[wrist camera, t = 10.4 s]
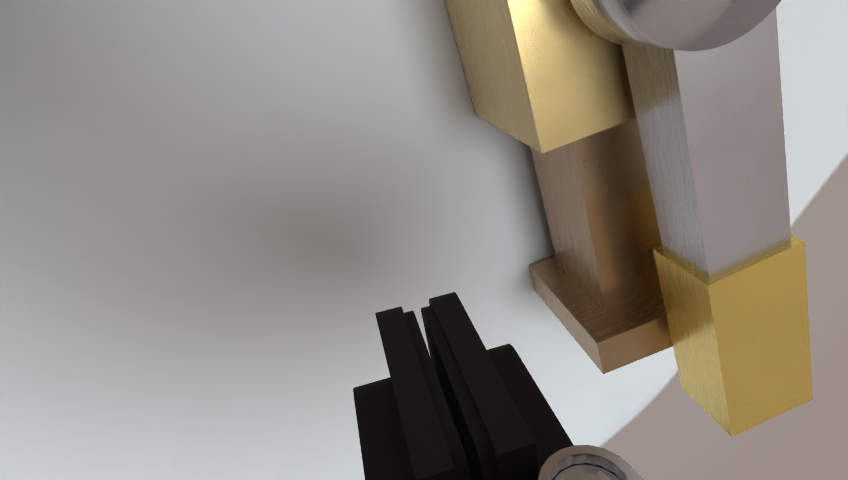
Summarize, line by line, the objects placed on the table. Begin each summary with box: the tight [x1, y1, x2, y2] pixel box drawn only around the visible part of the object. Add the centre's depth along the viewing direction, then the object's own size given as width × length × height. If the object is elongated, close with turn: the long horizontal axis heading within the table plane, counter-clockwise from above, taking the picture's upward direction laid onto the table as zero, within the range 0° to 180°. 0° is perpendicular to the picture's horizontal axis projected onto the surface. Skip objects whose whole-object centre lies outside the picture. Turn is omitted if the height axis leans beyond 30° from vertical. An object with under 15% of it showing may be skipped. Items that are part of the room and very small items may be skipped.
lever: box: [570, 0, 812, 437], centre depth 13 cm, size 16×4×2 cm, turn 22°
